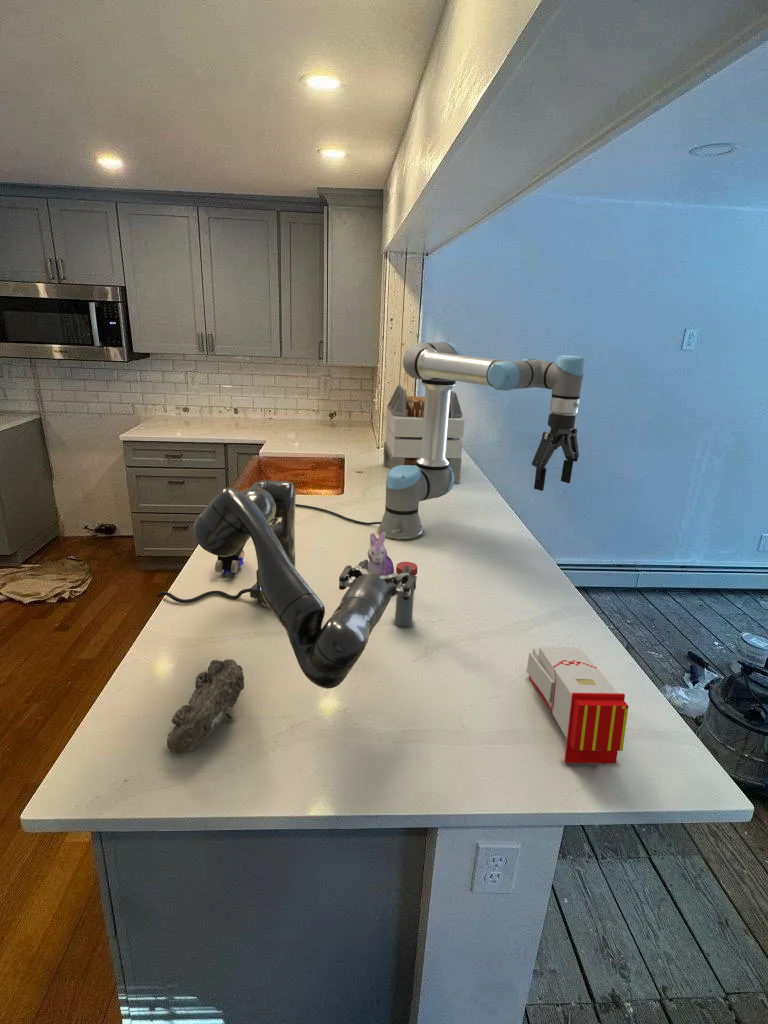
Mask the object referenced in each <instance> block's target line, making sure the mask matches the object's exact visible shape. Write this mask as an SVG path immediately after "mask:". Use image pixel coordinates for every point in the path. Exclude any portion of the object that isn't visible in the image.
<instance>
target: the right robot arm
mask: <svg viewBox="0 0 768 1024" xmlns="http://www.w3.org/2000/svg"><path fill="white" fill-rule="evenodd" d="M585 365H586V360H585V358H584V357H582V356H578V355H566V354H565V355H564V354H563V355H558V356H557V357H556V360H555V361H549V360H541V359H536V358H524V359H521V360H506V359H505V360H504V359H503V360H502V359H496V358H487V357H479V356H471V355H464V354H463V352H462V350H461V349H460V347H459V346H457V345H456V344H455V343H451V342H445V341H443V342H442V341H441V342H440V341H439V342H438V341H437V342H417V343H414V344H412V345H411V346H409V347H408V348H407V350H406V351H405V353H404V355H403V358H402V366H403V369H404V372H405V373H406V374H407V375H408V376H409V377H411V378H412V379H415V380H421V385H422V386H423V387H424V389H425V392H424V397H425V404H424V419H423V434H422V449H421V457H420V458H418V459H417V461H416V466H413V465H401V466H396V467H394V468H392V469H390V468H389V470H388V472H387V474H386V479H385V504H384V505H385V507H384V508H385V509H384V513H383V515H382V519H381V521H371V522H367V521H360V520H357V519H354V518H353V519H352V518H349V517H347V516H344V515H342V514H339V513H337V512H335V511H332V510H328V509H325V508H321V507H316V506H313V505H308V504H307V505H306V504H299V503H296V504H295V507H300V508H307V509H313V510H317V511H320V512H325V513H327V514H331V515H334V516H337V517H339V518H341V519H343V520H346V521H349V522H352V523H355V524H360V525H367V526H373V525H379V526H378V533H379V535H381V533H382V532H385V533H386V536H385V538H387V539H389V540H395V541H410V540H415V539H418V538H420V537H421V536H422V535H423V525H422V524H421V518H420V515H419V507H420V506H419V505H420V502H423V501H427V500H431V499H437V498H440V497H443V496H446V495H448V493H450V492H451V490H452V489H453V488H454V487H453V486H454V484H455V483H454V473H452V469H451V467H450V466H449V462H448V461H447V459H446V458H445V453H446V441H447V428H448V416H449V404H450V392H451V391H452V389H453V388H454V387H455V386H456V384H457V382H461V383H465V384H473V385H479V386H487V387H491V388H492V389H494V390H496V391H503V392H504V391H511V390H520V389H532V388H533V389H534V388H539V389H546V390H551V398H550V404H549V413H548V418H547V419H548V420H547V426H548V427H549V428H550V431H549V432H548V431H543V432H542V435H541V440H540V442H539V445H538V447H537V449H536V452H535V454H534V457H533V460H532V461H531V466H533V467H535V475H534V477H535V478H534V485H533V489H534V490H537V491H539V492H543V491H544V489H545V484H546V483H545V482H546V476H547V468H546V466H547V465H548V463H549V461H550V459H551V457H552V456H553V454H554V453H555V451H556V450H557V449H558V448H560V447H561V449H562V452H563V455H564V458H565V459H563V463H562V468H561V469H562V470H561V475H560V482H562V483H566V484H571V478H572V472H573V466H574V463H576V462H578V461H579V457H580V453H579V444H578V428H576V423H577V419H578V416H577V414H578V412H579V411H578V410H579V406H580V397H581V391H582V385H583V380H584V376H585Z"/></svg>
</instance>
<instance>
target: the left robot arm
mask: <svg viewBox="0 0 768 1024" xmlns="http://www.w3.org/2000/svg"><path fill="white" fill-rule="evenodd" d="M296 492H297V491H296V486H295V484H294V483H293V482H292V481H289V480H267V479H266V480H265V479H264V480H258V481H256V482H254V483H253V484H252V485H251V486H250V487H249V488H248V487H247V488H245V489H243V490H238V489H236V488H234V487H225V488H223V489H222V490H220V491H219V492H218V493H217V494H216V495H215V496H214V498H212V500H211V501H210V502H209V503H208V504H207V505H206V507H204V508H203V510H202V511H201V512H200V513H199V514H198V516H197V517H196V518H195V521H194V523H193V525H192V533H193V537H194V539H195V541H196V543H197V544H198V545H199V546H200V547H201V549H203V550H204V551H206V552H207V553H208V554H211V555H214V556H217V557H218V556H222V557H226V556H231V555H233V554H235V553H236V552H237V551H238V550H239V549H240V548H241V547H242V546H243V545H244V544H245V543H246V544H247V542H248V541H249V539H251V540H252V543H253V547H254V550H255V555H256V560H257V562H256V563H257V569H256V573H255V574H256V582H255V583H254V584H253V585H252V586H251V587H250V588H244V589H241V590H239V592H237V594H236V595H235V594H234V595H231V594H229V593H227V592H225V591H221V590H210V591H205V592H203V593H202V594H201V593H200V594H199V595H197V596H195V597H192V598H186V599H185V598H184V599H183V598H179V597H177V596H176V595H174V594H172V593H171V592H169V591H165V590H164V591H160V592H159V593H158V594H157V595H156V598H161V597H163V596H166V595H167V597H168V598H170V599H171V600H173V601H175V602H176V603H178V604H179V603H180V604H191V603H194V602H197V601H199V600H201V599H204V598H205V597H209V596H211V595H212V596H213V595H219V596H222V597H224V598H226V599H229V600H238V599H240V598H241V597H242V595H243V594H246V593H249V598H252V599H256V602H257V604H260V605H262V606H263V607H265V608H267V609H269V610H270V611H271V612H272V614H273V615H274V616H275V618H276V619H277V620H278V622H279V623H280V624H281V625H282V627H283V628H284V629H285V631H286V634H287V637H288V640H289V643H290V646H291V648H292V651H293V653H294V655H295V659H296V661H297V663H298V666H299V668H300V670H301V671H302V673H303V674H304V676H305V677H306V678H307V679H308V680H309V681H310V682H311V683H313V684H314V685H315V686H317V687H320V688H321V689H334V688H337V687H338V686H339V685H341V684H342V683H343V682H344V680H345V679H346V678H347V676H348V675H349V673H350V672H351V670H352V669H353V667H354V666H355V664H356V663H357V661H358V660H359V659H360V657H361V656H362V654H363V652H364V650H365V649H366V647H367V645H368V642H369V639H370V636H371V634H372V632H373V630H374V628H375V627H376V625H377V624H378V623H379V621H381V619H382V616H383V615H384V613H385V610H386V609H387V607H388V605H389V603H390V601H391V599H392V598H393V597H396V594H397V595H402V596H403V599H404V600H409V599H410V597H411V595H412V594H413V592H414V593H415V590H416V589H417V578H418V576H417V575H411V568H409V566H406V565H405V567H404V569H403V571H402V573H401V574H397V573H395V572H394V573H393V574H390V575H387V576H384V575H376V574H371V573H369V572H368V571H367V569H368V562H369V559H363V560H361V561H360V562H359V563H358V564H357V565H355V566H354V567H353V566H352V565H346V566H345V567H344V568H343V570H342V572H341V573H340V575H339V576H338V581H339V582H338V589H339V590H341V591H344V590H346V589H347V588H348V589H347V590H346V592H345V593H344V594H343V595H342V597H341V600H340V602H339V604H338V605H337V607H336V608H335V610H334V612H333V613H332V615H331V616H330V617H329V618H328V620H327V621H326V622H325V623H324V624H323V621H324V618H325V616H326V615H325V614H326V607H325V605H324V603H323V601H322V600H321V598H319V596H318V595H317V594H316V592H315V591H314V590H313V589H312V588H311V586H310V585H309V584H308V583H307V581H305V579H304V578H303V577H302V575H301V574H300V573H299V572H298V570H297V569H296V506H295V504H297V503H296V501H297V499H296V498H297V493H296ZM274 518H277V519H280V521H278V522H275V523H274V524H272V522H273V521H272V520H273V519H274ZM271 521H272V522H271ZM246 544H245V545H246ZM352 578H354V579H353V580H352ZM400 579H401V582H400ZM168 592H169V593H168Z"/></svg>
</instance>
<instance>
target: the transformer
mask: <svg viewBox="0 0 768 1024" xmlns="http://www.w3.org/2000/svg"><path fill="white" fill-rule="evenodd" d="M407 394H408V393H407V390H406V389H404V388H403V387H402V385H399V384H398V385H397V386H396V388H395V390H394V392H393V394H392V395H391V398H390V400H389V402H388V404H387V405H386V413H385V414H386V415H385V423H386V428H385V438H384V442H383V466H384V467H388V468H389V470H390V469H392V468H394V467H396V466H401V465H404V466H405V465H413V466H416V461H417V459H418V458H420V457H421V449H422V434H423V419H424V404H425V396H415V395H414V396H413V395H412V396H411V395H407ZM464 429H465V419H464V418H463V411H462V408H461V405H460V402H459V398H458V395H457V392H455V391H453V390H451V392H450V404H449V416H448V428H447V441H446V453H445V458H446V459H447V461H448V462H449V466H450V467H451V469H452V473H454V484H455V483H456V484H459V483H461V472H462V461H463V460H462V453H463V442H464V441H463V440H462V439H463V438H464V431H465V430H464Z"/></svg>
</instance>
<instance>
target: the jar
mask: <svg viewBox="0 0 768 1024" xmlns="http://www.w3.org/2000/svg"><path fill="white" fill-rule="evenodd" d="M400 582H401V579H400ZM414 603H415V591H414V592H413V594H412V595H411V597H410V599H409V600H404V599H403V596H402V595H397V594H396V595H395V609H394V624H395V626H397V627H399V628H408V627H409V628H410V627H411V626H412V625H413V619H414V618H413V617H414V616H413V615H414Z"/></svg>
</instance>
